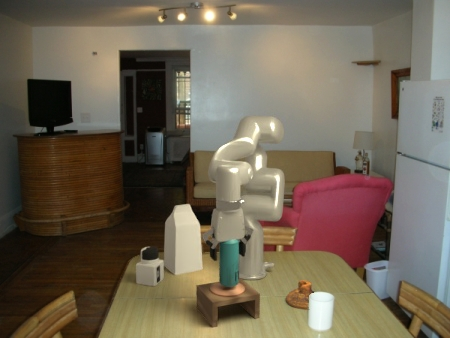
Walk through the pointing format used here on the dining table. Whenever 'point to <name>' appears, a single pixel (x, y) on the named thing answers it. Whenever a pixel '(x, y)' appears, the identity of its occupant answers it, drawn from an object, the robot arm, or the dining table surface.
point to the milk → (182, 241)
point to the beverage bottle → (229, 263)
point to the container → (149, 267)
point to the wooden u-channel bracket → (226, 299)
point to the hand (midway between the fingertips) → (228, 257)
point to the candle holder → (300, 295)
